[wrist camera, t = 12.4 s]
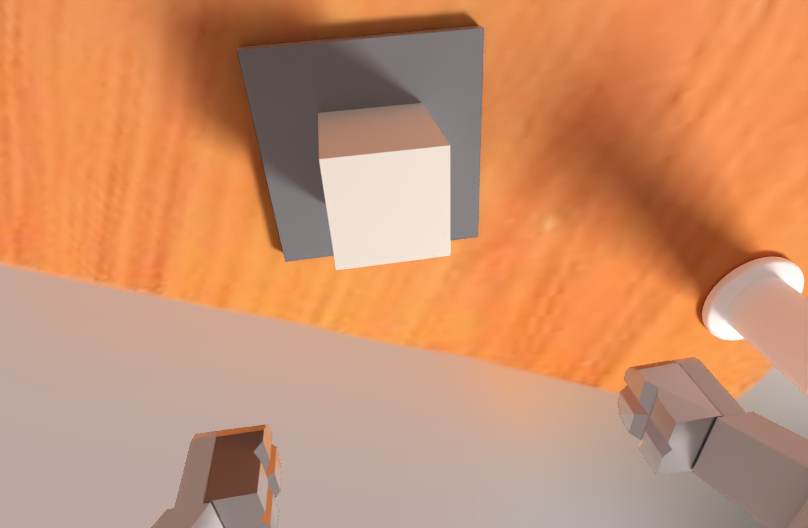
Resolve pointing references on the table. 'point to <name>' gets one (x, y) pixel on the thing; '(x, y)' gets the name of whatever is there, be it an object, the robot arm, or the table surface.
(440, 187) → the cream block
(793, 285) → the candle
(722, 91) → the table surface
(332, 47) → the slate plate
